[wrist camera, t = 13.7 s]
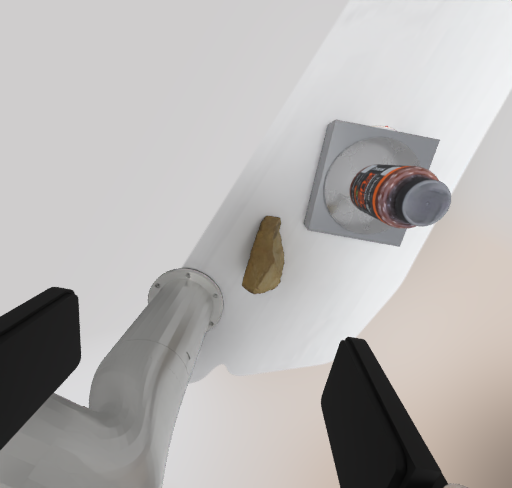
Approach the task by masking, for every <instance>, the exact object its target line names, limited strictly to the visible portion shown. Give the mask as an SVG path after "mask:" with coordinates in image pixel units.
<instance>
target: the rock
mask: <svg viewBox="0 0 512 488" xmlns="http://www.w3.org/2000/svg"><path fill="white" fill-rule="evenodd" d="M280 225H281V220H280V218H278V217H272V216H265V218H264V220H262V222H261V225H260V227H259V230H258V232H257V235H256V239H255V241H254V244H253V247H252V250H251V253H250V259H249V261H248V265H247V267H246V271H245V274H244V277H243V283H242V286H243V287H244V288H245V289H246V290H248V291H249V292H251V293H253V294H256V293H259V294H260V293H265V292H266V291H269V290H273V289H274V288H275V287H276V286H278V284H279V283H280V282H281V281H280V277H281V275H282V270H283V265H284V252H283V247H282V244H281V241H282V240H281V236H280V233H279V229H280Z"/></svg>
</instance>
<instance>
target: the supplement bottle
mask: <svg viewBox="0 0 512 488" xmlns="http://www.w3.org/2000/svg"><path fill="white" fill-rule="evenodd" d="M350 198H351V201H352V203H353V204H354V206H355V207H356V208H358V209H359V210H360V211H362V212H364V213H366V214H368V215H370V216H372V217H374V218H376V219H378V220H379V221H381V222H383V223H385V224H387V225H389V226H392V227H395V228H412V227H415V226H428V225H431V224H433V223H435V222H437V221H438V220H440V219H441V218H442V217H443V216H444V215H445V214H446V212H447V211H448V209H449V206H450V203H451V193H450V191H449V189H448V187H447V186H446V185H445V184H444V183H442V182H440V181H439V180H438V178H437V177H436V176H435V175H434V174H433V173H432V172H431V171H429V170H427V169H425V168H422V167H417V166H402V165H382V164H377V165H371V166H368V167H366V168H364V169H362V170H361V171H359V172H358V173H357V174H356V176H355V177H354V179H353V180H352V183H351V185H350Z"/></svg>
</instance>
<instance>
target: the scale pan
mask: <svg viewBox="0 0 512 488" xmlns="http://www.w3.org/2000/svg"><path fill="white" fill-rule="evenodd" d="M377 164H382V165H402V166H417V167H421V166H420V163H419V160H418V159H417V157H416V155H415V154H414V152H413V151H412V150H411V149H410V148H409V147H408V146H407V145H405V144H404V143H402V142H400V141H398V140H395V139H392V138H387V137H374V138H369V139H365V140H362V141H359V142H357V143H354V144H353V145H351V146H349V147H348V148H346V149H345V150H344V151H343V152H342V153H341V154H340V155H339V156H338V157H337V158H336V159H335V160H334V162H333V163H332V165H331V167H330V169H329V171H328V173H327V176H326V179H325V184H324V199H325V204H326V206H327V209H328V211H329V213H330V215H331V216H332V217H333V219H334V220H335V221H336V222H337V223H339V224H340V225H341V226H342V227H344V228H346V229H347V230H350V231H352V232H355V233H360V234H374V233H379V232H383V231H386V230H388V229H390V228H392V226H389V225H387V224H385V223H383V222H381V221H379V220H378V219H376V218H374V217H372V216H370V215H368V214H366V213H364V212H362V211H360V210H359V209H358V208H356V207H355V206H354V204H353V203H352V201H351V198H350V185H351V183H352V180H353V179H354V177H355V176H356V174H357V173H358V172H359V171H361V170H362V169H364V168H366V167H368V166H371V165H377Z"/></svg>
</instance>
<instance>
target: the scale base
mask: <svg viewBox="0 0 512 488" xmlns="http://www.w3.org/2000/svg"><path fill="white" fill-rule="evenodd" d="M374 137H387V138H392V139H395V140H398V141H400V142H402V143H404V144H405V145H407V146H408V147H409V148H410V149H411V150H412V151H413V152H414V154H415V155H416V157H417V159H418V160H419V163H420V166H421V167H422V168H425V169H427V170H429V167H430V165H431V162H432V160H433V157H434V154H435V152H436V149H437V146H438V144H439V141H440V140H438V139H433V138H428V137H423V136H418V135H412V134H407V133H402V132H397V131H396V130H395V129H393V128H389V127H388V126H385V127H383V126H366V125H361V124H356V123H350V122H345V121H340V120H335V121H333V122H332V123H330V124H328V127H327V131H326V135H325V139H324V143H323V147H322V151H321V156H320V160H319V164H318V168H317V172H316V176H315V180H314V184H313V188H312V193H311V197H310V201H309V205H308V209H307V213H306V217H305V221H304V224H305V226H306V227H307V229H308V230H310V231H316V232H321V233H327V234H332V235H338V236H344V237H349V238H355V239H360V240H366V241H371V242H377V243H382V244H388V245H393V246H399V247H400V245H401V242H402V239H403V237H404V234H405V231H406V229H407V228H395V227H392V228H390V229H388V230H386V231H383V232H379V233H374V234H360V233H355V232H352V231H350V230H347V229H346V228H344V227H342V226H341V225H340V224H339V223H337V222H336V221H335V220H334V219H333V217H332V216H331V215H330V213H329V211H328V209H327V206H326V204H325V199H324V184H325V179H326V176H327V173H328V171H329V169H330V167H331V165H332V163H333V162H334V160H335V159H336V158H337V157H338V156H339V155H340V154H341V153H342V152H343V151H344V150H345V149H346V148H348V147H349V146H351V145H353V144H354V143H357V142H359V141H362V140H365V139H369V138H374Z"/></svg>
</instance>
